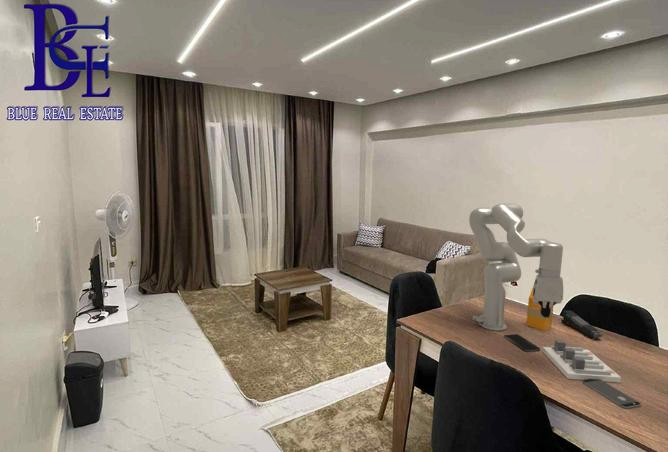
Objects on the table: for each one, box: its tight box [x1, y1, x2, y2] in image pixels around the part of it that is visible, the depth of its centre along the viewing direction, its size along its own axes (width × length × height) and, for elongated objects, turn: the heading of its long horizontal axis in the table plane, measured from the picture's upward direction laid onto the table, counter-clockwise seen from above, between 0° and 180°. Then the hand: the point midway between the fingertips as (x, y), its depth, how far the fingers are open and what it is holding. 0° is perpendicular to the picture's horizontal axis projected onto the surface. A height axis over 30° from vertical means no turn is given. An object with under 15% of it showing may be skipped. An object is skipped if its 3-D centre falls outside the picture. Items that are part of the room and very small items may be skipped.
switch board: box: [541, 345, 622, 384], centre depth 143 cm, size 18×21×3 cm
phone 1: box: [503, 333, 541, 353], centre depth 162 cm, size 8×1×15 cm
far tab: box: [553, 339, 567, 351], centre depth 150 cm, size 3×3×4 cm
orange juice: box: [526, 284, 554, 332], centre depth 179 cm, size 8×9×20 cm
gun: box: [560, 309, 604, 340], centre depth 175 cm, size 4×20×10 cm, turn 9°
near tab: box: [572, 357, 585, 370], centre depth 136 cm, size 3×3×4 cm
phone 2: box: [581, 379, 642, 410], centre depth 125 cm, size 8×1×16 cm
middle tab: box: [562, 348, 575, 360], centre depth 143 cm, size 3×3×4 cm
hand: (545, 316), depth 149 cm, fingers closed
